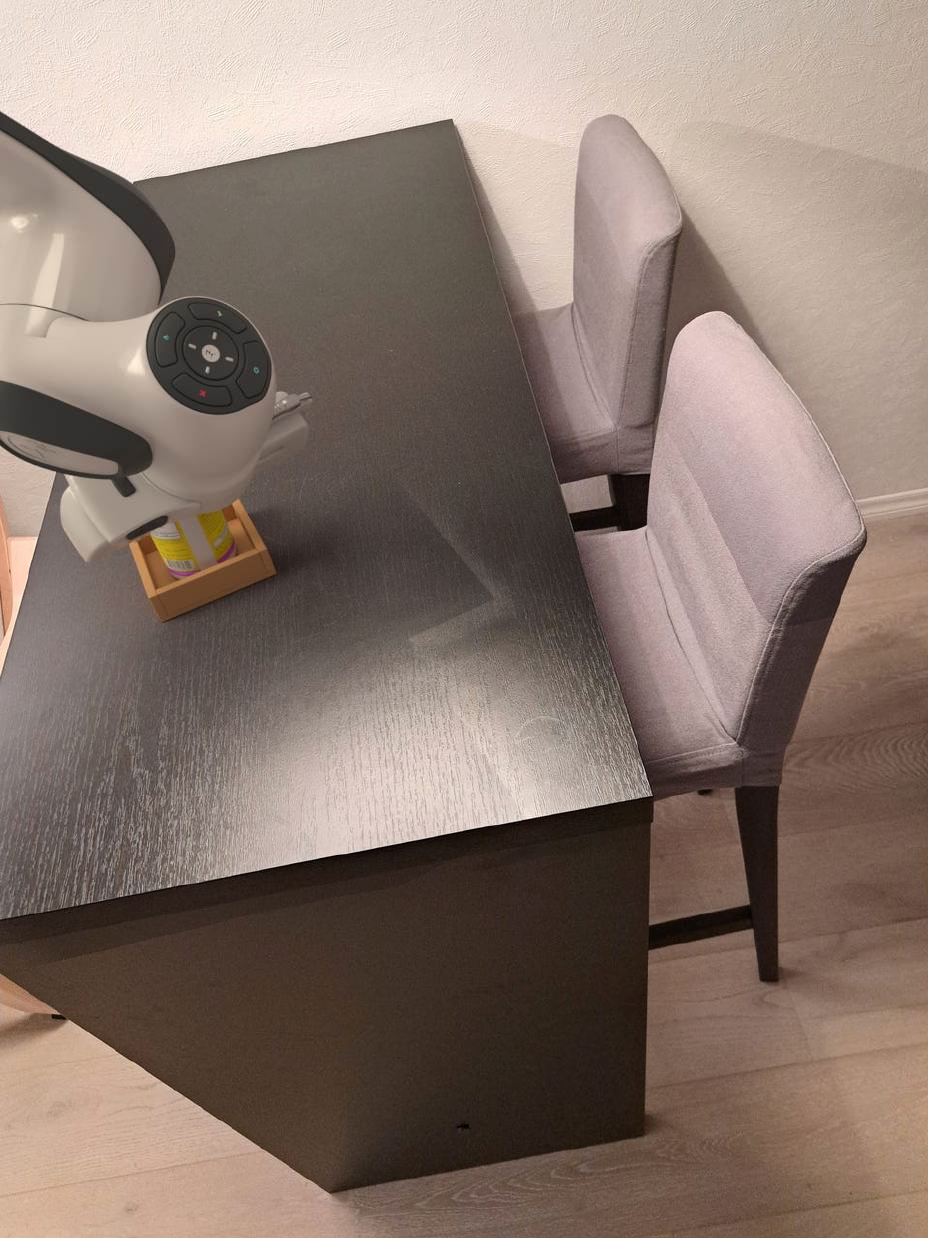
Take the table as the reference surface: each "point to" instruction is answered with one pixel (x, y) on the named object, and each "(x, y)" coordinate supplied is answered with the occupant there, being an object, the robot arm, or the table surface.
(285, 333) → the table surface
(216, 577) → the open wooden box
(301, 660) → the table surface
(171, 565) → the supplement bottle
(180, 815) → the table surface
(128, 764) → the table surface
